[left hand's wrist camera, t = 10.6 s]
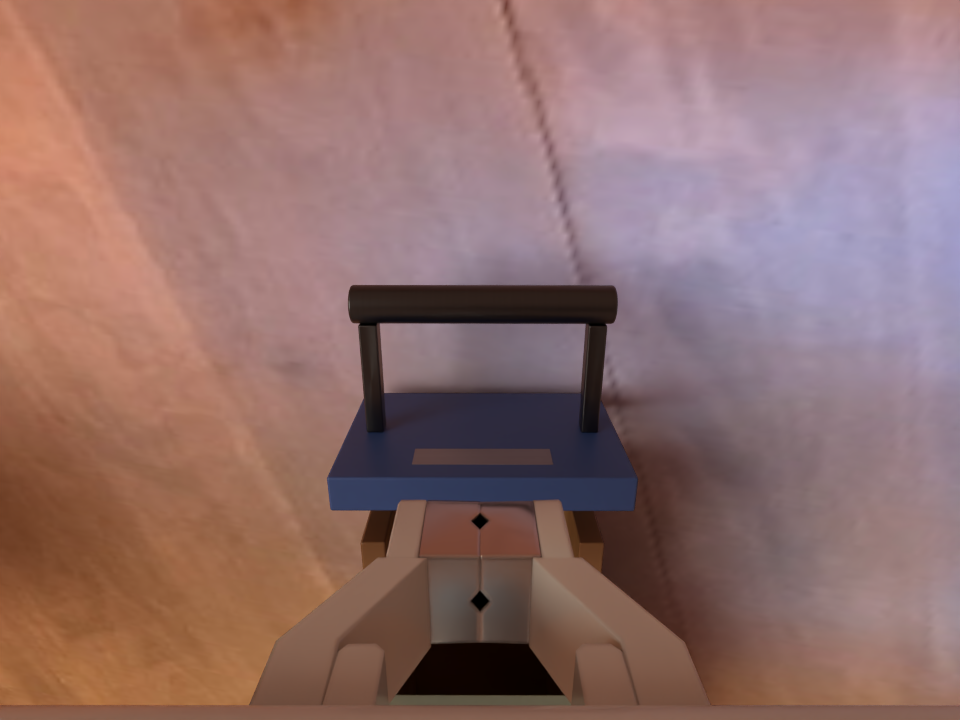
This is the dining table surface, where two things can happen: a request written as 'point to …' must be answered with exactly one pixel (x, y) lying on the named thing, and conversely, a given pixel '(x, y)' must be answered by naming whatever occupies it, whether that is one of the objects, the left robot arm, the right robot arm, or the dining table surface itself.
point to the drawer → (482, 451)
